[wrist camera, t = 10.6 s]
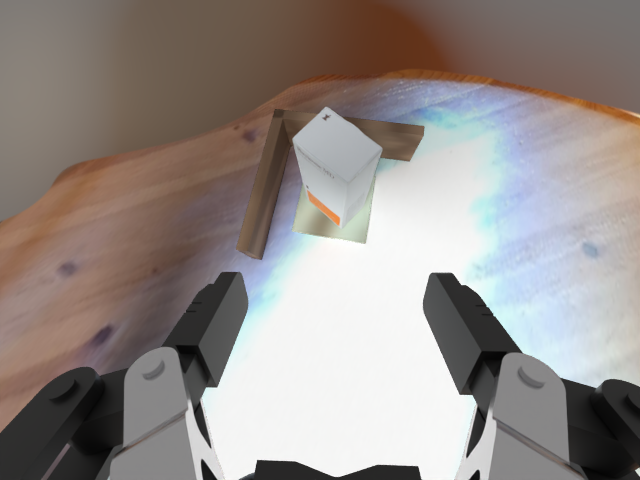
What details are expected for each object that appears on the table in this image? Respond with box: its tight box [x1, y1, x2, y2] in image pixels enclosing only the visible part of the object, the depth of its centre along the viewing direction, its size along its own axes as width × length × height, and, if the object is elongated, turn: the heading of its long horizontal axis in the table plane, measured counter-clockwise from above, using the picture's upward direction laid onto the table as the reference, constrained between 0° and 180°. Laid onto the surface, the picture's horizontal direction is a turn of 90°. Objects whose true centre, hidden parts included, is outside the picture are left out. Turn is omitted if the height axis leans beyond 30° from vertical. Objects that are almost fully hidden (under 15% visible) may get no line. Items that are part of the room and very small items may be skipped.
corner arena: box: [236, 109, 424, 260], centre depth 28 cm, size 17×17×5 cm
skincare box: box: [292, 107, 383, 229], centre depth 24 cm, size 6×4×12 cm
